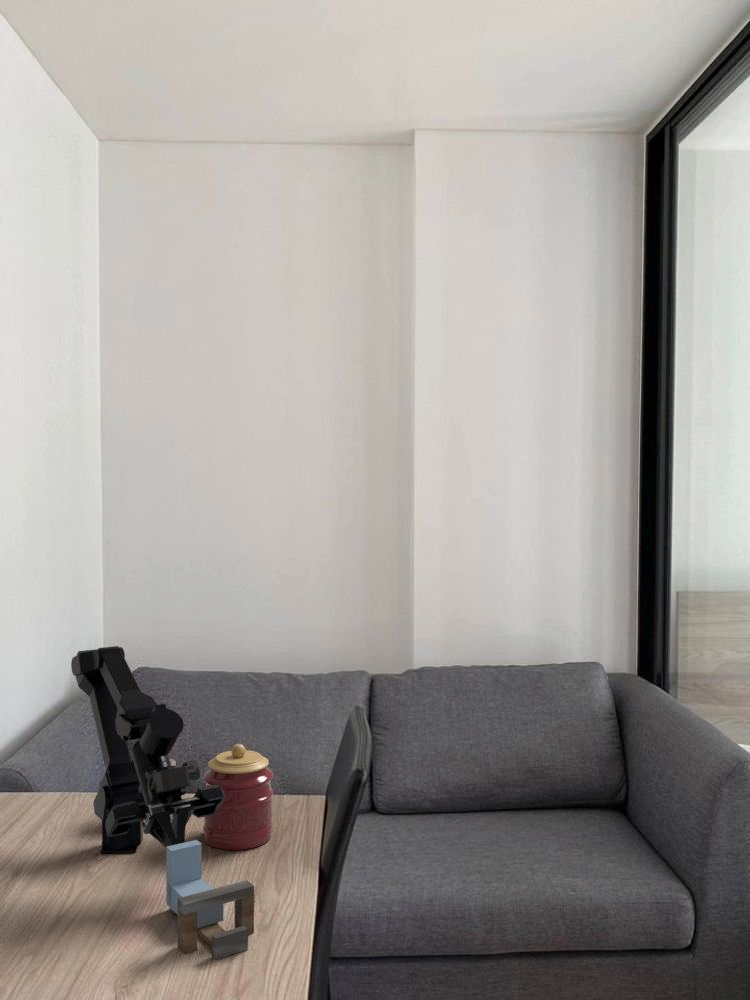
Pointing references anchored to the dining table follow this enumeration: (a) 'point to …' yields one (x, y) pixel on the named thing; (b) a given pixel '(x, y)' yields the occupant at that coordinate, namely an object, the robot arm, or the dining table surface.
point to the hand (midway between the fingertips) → (180, 858)
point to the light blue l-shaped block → (188, 880)
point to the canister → (240, 800)
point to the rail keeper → (214, 933)
